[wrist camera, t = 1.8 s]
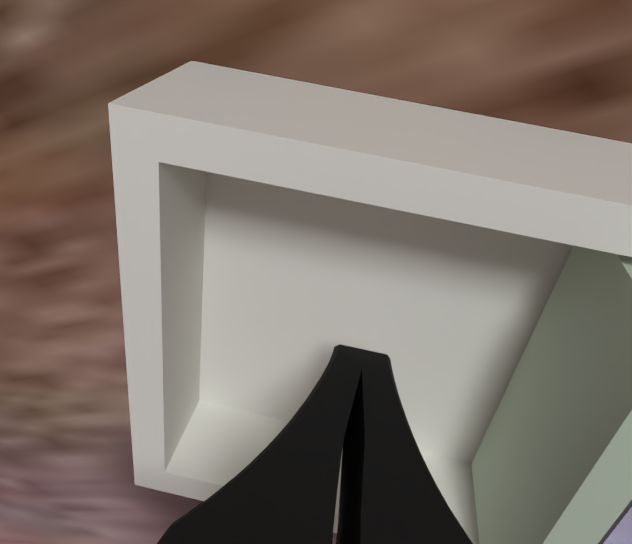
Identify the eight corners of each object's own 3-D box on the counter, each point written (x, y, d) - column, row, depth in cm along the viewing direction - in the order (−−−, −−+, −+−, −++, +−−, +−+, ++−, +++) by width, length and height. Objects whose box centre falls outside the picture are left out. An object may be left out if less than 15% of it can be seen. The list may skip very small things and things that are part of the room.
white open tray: (652, 147, 13) (744, 227, 10) (497, 455, 20) (515, 576, 16) (191, 60, 14) (107, 103, 10) (187, 385, 21) (134, 484, 17)
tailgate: (657, 225, 12) (778, 367, 8) (519, 475, 18) (550, 641, 13) (589, 212, 13) (673, 345, 8) (471, 464, 18) (487, 626, 13)
